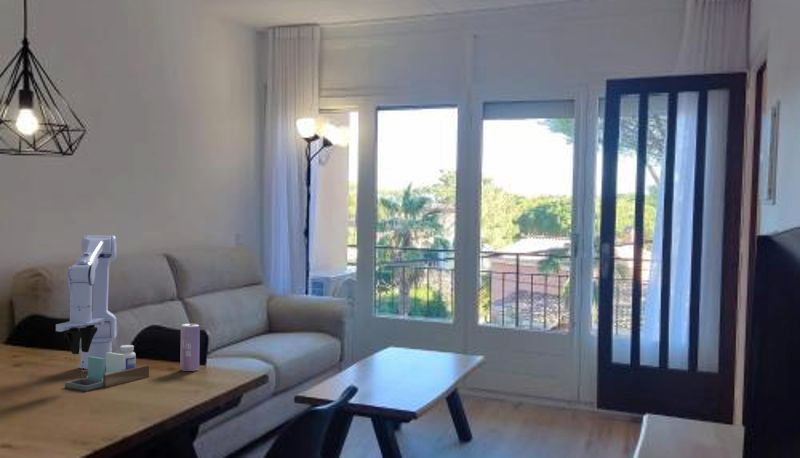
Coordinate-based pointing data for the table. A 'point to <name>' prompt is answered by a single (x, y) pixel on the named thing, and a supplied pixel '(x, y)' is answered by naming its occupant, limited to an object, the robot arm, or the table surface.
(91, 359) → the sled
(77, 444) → the table surface
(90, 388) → the tray
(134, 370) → the channel
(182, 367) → the beverage can
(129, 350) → the pill bottle
